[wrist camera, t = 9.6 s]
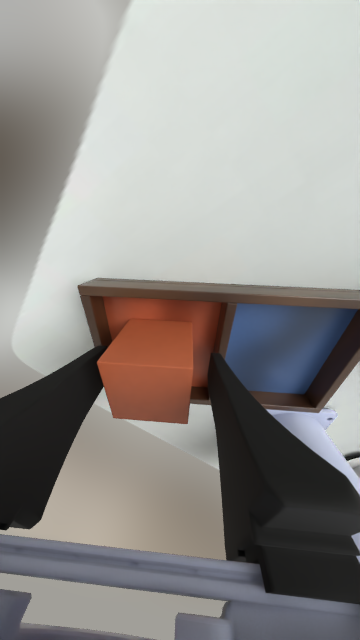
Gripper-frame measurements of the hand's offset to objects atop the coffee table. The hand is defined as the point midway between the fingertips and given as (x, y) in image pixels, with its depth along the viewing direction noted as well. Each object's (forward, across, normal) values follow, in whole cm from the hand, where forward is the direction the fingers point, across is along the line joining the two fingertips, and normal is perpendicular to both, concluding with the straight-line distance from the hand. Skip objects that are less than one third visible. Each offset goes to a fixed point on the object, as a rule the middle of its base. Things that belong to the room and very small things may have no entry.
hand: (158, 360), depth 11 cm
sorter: (+2, -4, 0) cm, 5 cm away
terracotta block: (+2, 0, 0) cm, 2 cm away
